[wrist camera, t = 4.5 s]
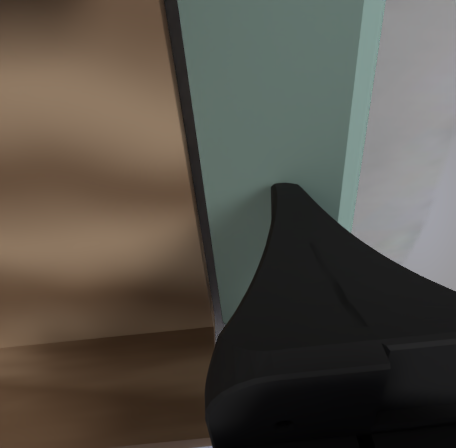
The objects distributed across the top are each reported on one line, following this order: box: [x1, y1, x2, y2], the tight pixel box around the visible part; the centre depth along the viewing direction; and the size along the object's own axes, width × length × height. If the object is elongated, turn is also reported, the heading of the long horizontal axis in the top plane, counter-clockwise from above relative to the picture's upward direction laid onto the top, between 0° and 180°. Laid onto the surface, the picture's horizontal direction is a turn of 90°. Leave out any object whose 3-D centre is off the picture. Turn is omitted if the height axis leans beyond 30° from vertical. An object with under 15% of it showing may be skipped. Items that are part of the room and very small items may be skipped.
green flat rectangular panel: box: [177, 0, 386, 324], centre depth 13 cm, size 17×2×6 cm
